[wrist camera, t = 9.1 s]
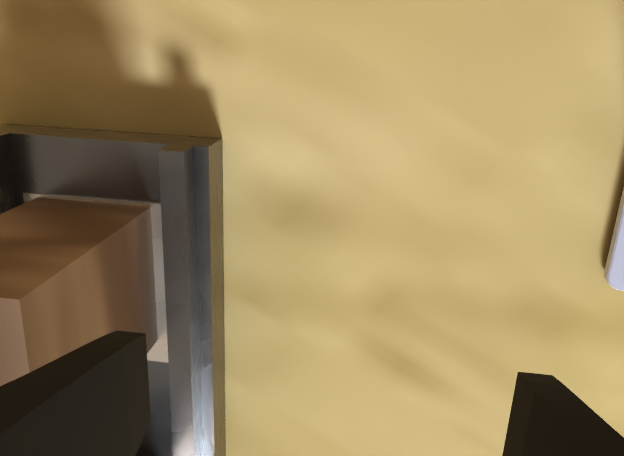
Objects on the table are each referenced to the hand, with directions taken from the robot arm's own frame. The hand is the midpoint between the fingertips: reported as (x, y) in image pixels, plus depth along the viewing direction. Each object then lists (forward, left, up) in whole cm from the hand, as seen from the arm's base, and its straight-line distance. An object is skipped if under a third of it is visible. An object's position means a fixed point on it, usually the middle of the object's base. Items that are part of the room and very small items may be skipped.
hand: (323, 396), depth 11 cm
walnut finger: (+9, +1, -8) cm, 12 cm away
